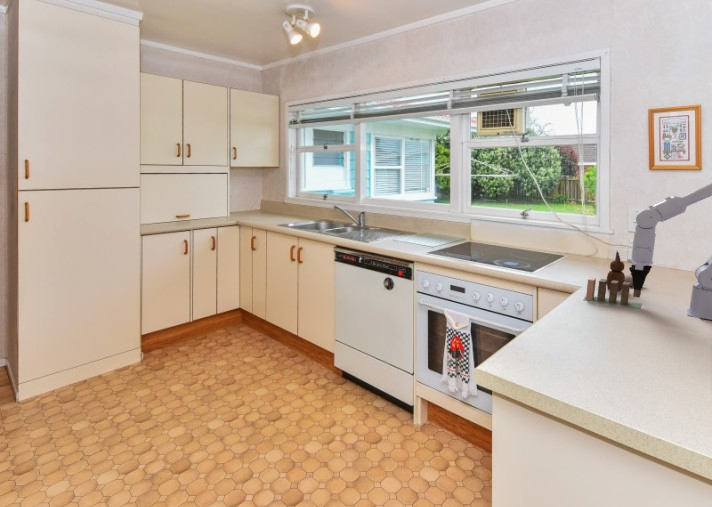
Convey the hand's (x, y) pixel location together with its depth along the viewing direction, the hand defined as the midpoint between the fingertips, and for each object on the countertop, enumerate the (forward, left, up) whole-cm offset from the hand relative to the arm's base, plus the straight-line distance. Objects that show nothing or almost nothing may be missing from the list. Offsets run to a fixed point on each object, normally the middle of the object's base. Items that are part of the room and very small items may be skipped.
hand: (638, 288), depth 141 cm
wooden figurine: (+8, -20, -6) cm, 23 cm away
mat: (+7, 0, -6) cm, 9 cm away
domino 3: (+3, 0, -6) cm, 7 cm away
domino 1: (+10, 0, -6) cm, 12 cm away
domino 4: (0, 0, -3) cm, 3 cm away
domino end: (+14, 0, -6) cm, 15 cm away
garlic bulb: (+4, -33, -7) cm, 34 cm away
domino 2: (+7, 0, -6) cm, 9 cm away
